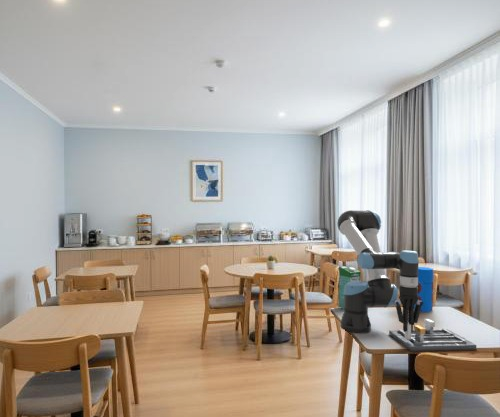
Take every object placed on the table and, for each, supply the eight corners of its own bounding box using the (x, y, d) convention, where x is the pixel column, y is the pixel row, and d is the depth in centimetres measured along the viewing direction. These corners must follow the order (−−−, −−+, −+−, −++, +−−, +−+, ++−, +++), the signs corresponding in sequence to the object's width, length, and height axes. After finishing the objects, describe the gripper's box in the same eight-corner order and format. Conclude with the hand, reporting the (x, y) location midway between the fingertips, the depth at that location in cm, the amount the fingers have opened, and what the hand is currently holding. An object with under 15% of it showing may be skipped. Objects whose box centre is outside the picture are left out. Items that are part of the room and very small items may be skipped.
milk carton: (349, 310, 216) (350, 268, 216) (338, 307, 224) (339, 266, 224) (360, 308, 221) (360, 267, 221) (348, 305, 229) (349, 265, 228)
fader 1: (420, 343, 160) (420, 329, 160) (413, 338, 166) (414, 325, 165) (425, 343, 161) (425, 329, 160) (418, 338, 166) (418, 325, 166)
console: (411, 351, 157) (411, 343, 157) (388, 334, 177) (389, 327, 177) (476, 349, 159) (476, 342, 159) (447, 333, 180) (447, 326, 180)
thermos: (409, 309, 222) (410, 268, 221) (417, 305, 229) (418, 266, 229) (428, 313, 214) (429, 270, 213) (435, 309, 221) (436, 268, 221)
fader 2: (430, 335, 170) (430, 322, 170) (423, 331, 175) (424, 318, 175) (434, 335, 170) (434, 322, 170) (428, 331, 176) (428, 318, 175)
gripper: (398, 287, 158) (397, 341, 158) (427, 287, 159) (426, 341, 159) (390, 283, 165) (389, 335, 166) (418, 283, 167) (417, 335, 167)
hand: (407, 338), depth 162 cm, fingers closed
